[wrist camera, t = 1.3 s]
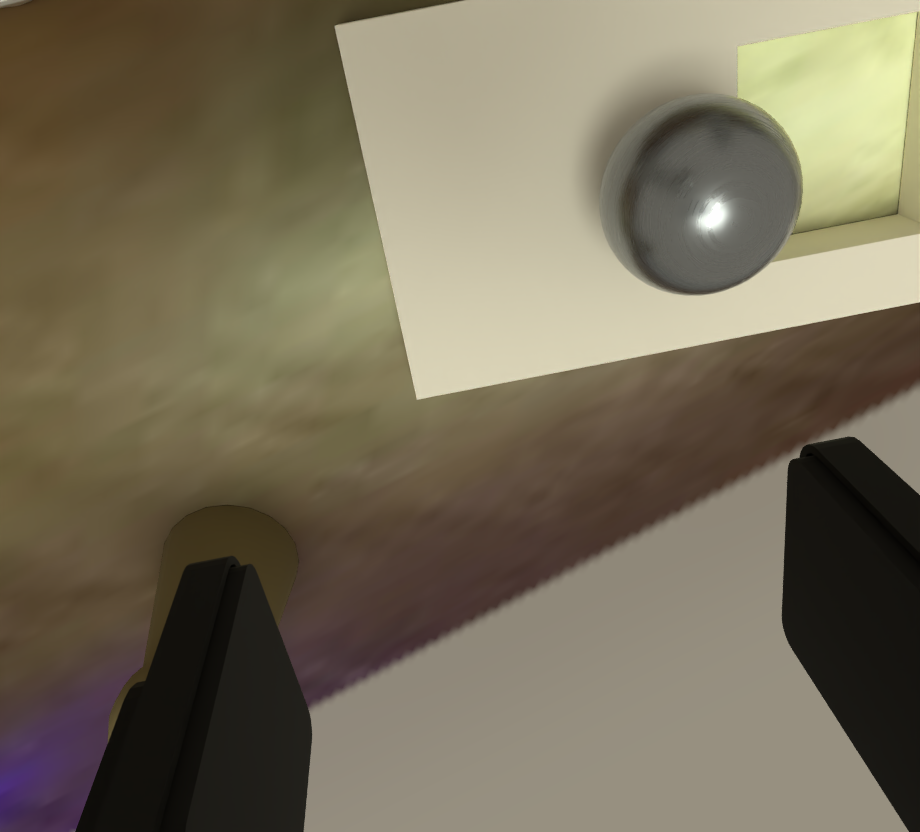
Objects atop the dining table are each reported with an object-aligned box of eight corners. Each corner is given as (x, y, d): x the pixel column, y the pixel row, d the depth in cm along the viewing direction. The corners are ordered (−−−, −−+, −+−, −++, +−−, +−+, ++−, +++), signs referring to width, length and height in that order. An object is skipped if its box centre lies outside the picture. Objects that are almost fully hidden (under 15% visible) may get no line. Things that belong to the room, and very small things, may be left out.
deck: (338, 24, 26) (334, 25, 24) (987, -102, 26) (1043, -112, 24) (414, 372, 32) (416, 399, 30) (938, 270, 32) (980, 290, 30)
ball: (571, 103, 25) (622, 129, 20) (752, 68, 25) (850, 85, 20) (588, 278, 28) (636, 341, 23) (750, 246, 28) (836, 302, 23)
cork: (315, 525, 35) (291, 723, 25) (277, 623, 38) (242, 837, 28) (180, 489, 34) (100, 684, 24) (149, 593, 36) (65, 809, 26)
